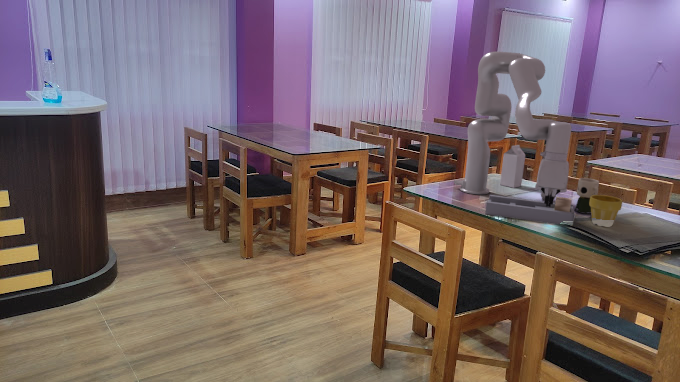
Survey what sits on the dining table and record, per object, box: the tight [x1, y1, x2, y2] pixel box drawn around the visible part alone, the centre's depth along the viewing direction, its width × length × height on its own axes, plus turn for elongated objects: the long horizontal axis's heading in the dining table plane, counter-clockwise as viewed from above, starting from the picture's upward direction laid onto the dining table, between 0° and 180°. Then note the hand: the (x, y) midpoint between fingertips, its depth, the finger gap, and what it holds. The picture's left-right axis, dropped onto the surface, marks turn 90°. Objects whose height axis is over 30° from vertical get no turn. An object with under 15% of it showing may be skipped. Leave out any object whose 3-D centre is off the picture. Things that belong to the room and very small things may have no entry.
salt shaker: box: [540, 188, 557, 202], centre depth 210 cm, size 6×6×13 cm
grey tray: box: [484, 194, 575, 225], centre depth 188 cm, size 30×13×4 cm, turn 69°
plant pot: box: [589, 194, 623, 220], centre depth 180 cm, size 10×10×10 cm
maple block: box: [554, 196, 572, 212], centre depth 183 cm, size 5×5×5 cm
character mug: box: [574, 177, 600, 214], centre depth 194 cm, size 11×7×13 cm, turn 12°
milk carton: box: [499, 144, 526, 189], centre depth 234 cm, size 7×7×19 cm
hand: (548, 205), depth 185 cm, fingers closed
